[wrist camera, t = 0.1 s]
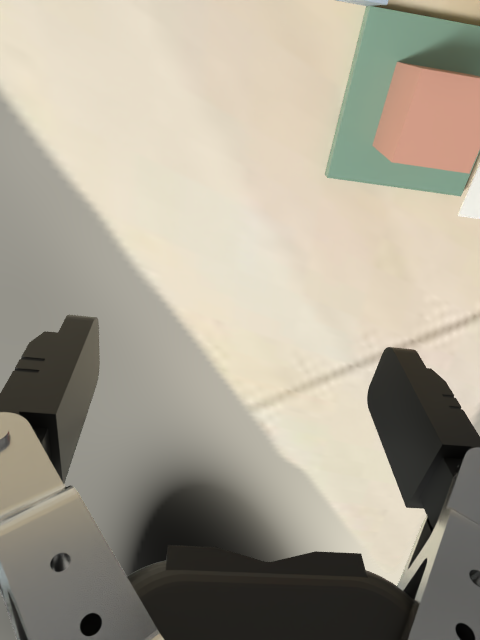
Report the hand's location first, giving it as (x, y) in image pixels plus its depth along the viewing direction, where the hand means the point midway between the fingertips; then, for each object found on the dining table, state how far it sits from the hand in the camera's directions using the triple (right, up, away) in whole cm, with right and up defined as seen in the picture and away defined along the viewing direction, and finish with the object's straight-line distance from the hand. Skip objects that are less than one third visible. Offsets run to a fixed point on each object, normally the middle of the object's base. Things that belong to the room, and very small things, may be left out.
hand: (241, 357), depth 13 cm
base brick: (+14, +17, +23) cm, 32 cm away
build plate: (+14, +18, +24) cm, 33 cm away
